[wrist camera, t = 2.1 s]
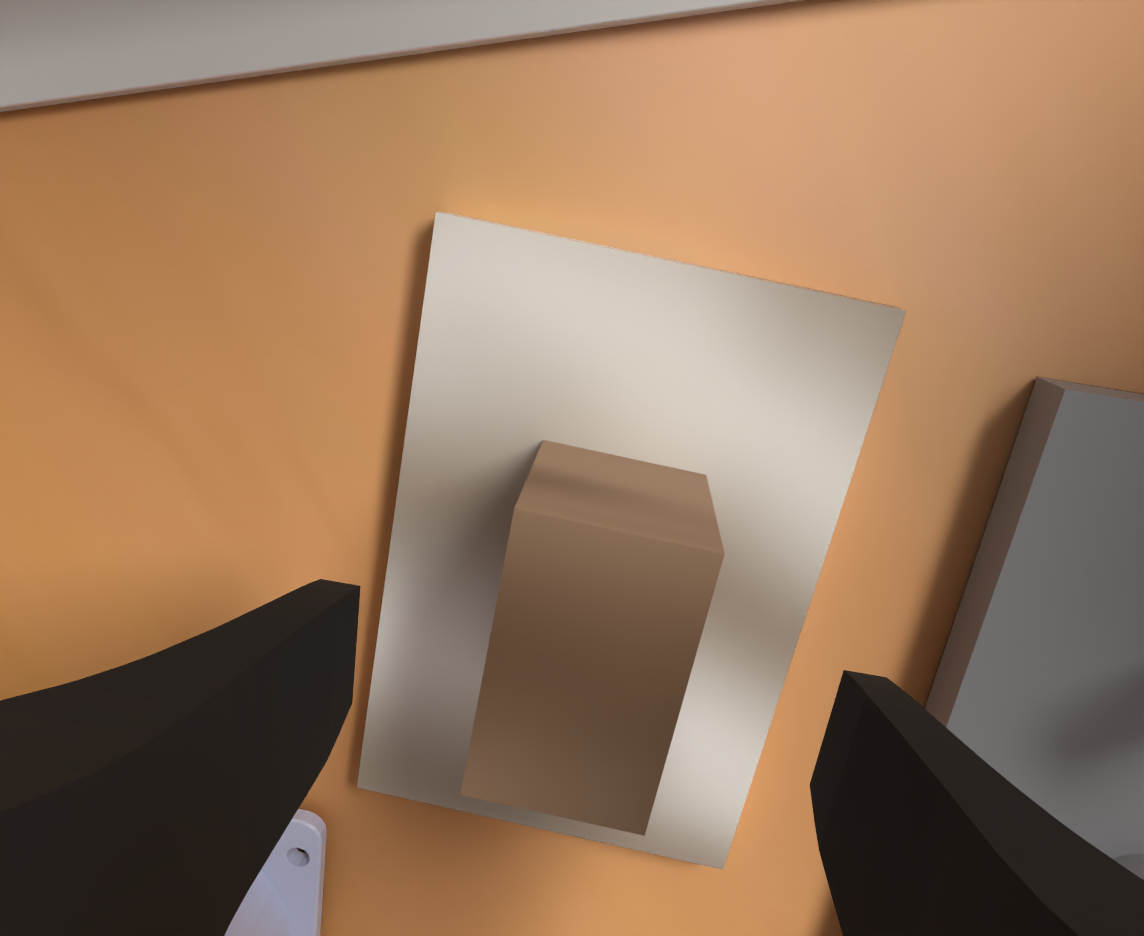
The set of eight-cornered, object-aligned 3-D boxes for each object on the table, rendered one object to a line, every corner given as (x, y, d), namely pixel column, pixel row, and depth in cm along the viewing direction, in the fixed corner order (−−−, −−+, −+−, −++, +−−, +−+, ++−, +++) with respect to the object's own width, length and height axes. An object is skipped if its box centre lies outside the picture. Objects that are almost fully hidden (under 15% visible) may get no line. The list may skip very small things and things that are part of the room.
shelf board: (718, 828, 18) (741, 1027, 14) (374, 751, 19) (288, 924, 14) (885, 302, 15) (992, 346, 10) (451, 211, 15) (369, 214, 10)
